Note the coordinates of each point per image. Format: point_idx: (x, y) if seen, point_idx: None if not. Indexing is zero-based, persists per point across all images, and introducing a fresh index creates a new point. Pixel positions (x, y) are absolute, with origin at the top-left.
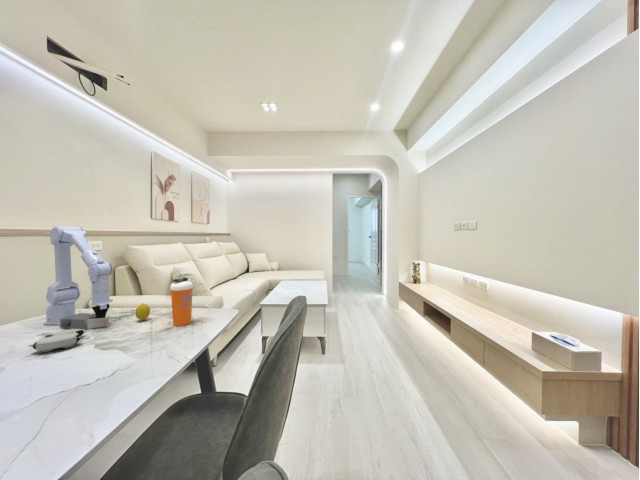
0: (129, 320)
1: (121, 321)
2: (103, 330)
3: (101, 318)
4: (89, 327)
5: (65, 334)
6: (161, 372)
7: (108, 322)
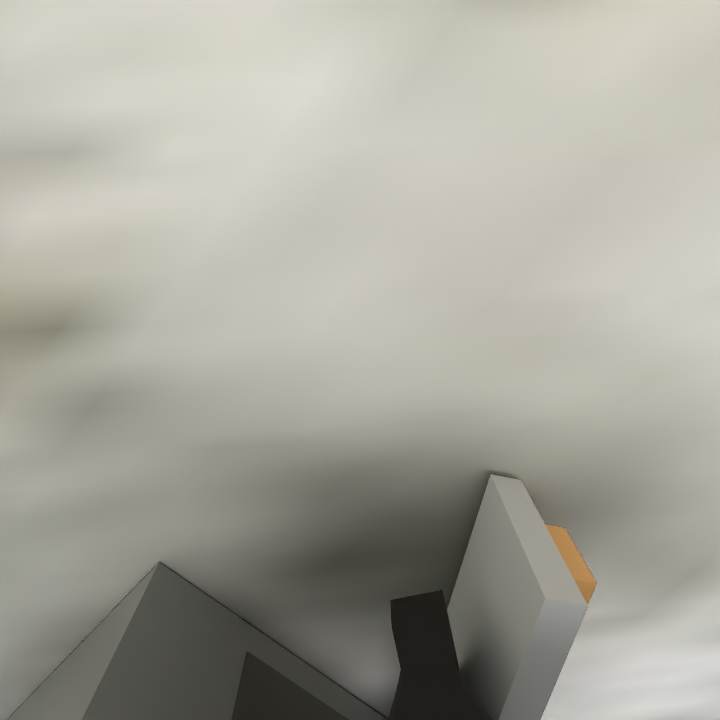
0: (296, 131)
1: (273, 289)
2: (703, 520)
3: (541, 707)
4: None
5: None
6: None
7: (537, 520)
